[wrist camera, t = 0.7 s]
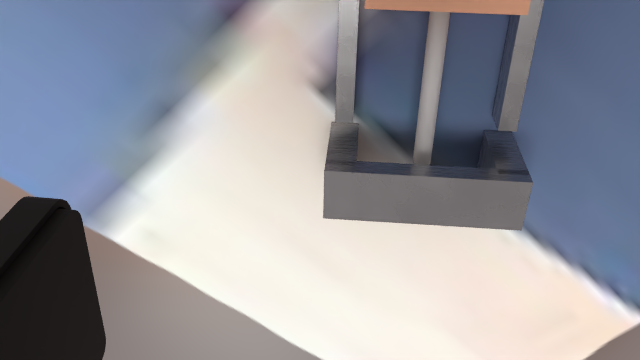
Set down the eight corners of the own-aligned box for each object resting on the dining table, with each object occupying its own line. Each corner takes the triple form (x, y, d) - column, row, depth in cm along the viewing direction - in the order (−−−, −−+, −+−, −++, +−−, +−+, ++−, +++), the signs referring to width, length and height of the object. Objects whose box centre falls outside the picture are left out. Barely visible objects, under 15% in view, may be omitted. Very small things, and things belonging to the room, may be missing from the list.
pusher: (366, -30, 31) (365, -9, 27) (513, -25, 30) (531, -3, 27) (357, 139, 36) (355, 175, 32) (482, 146, 35) (494, 183, 32)
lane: (341, -220, 27) (333, -227, 22) (583, -216, 26) (630, -223, 21) (330, 165, 37) (323, 218, 32) (502, 175, 36) (521, 230, 32)
